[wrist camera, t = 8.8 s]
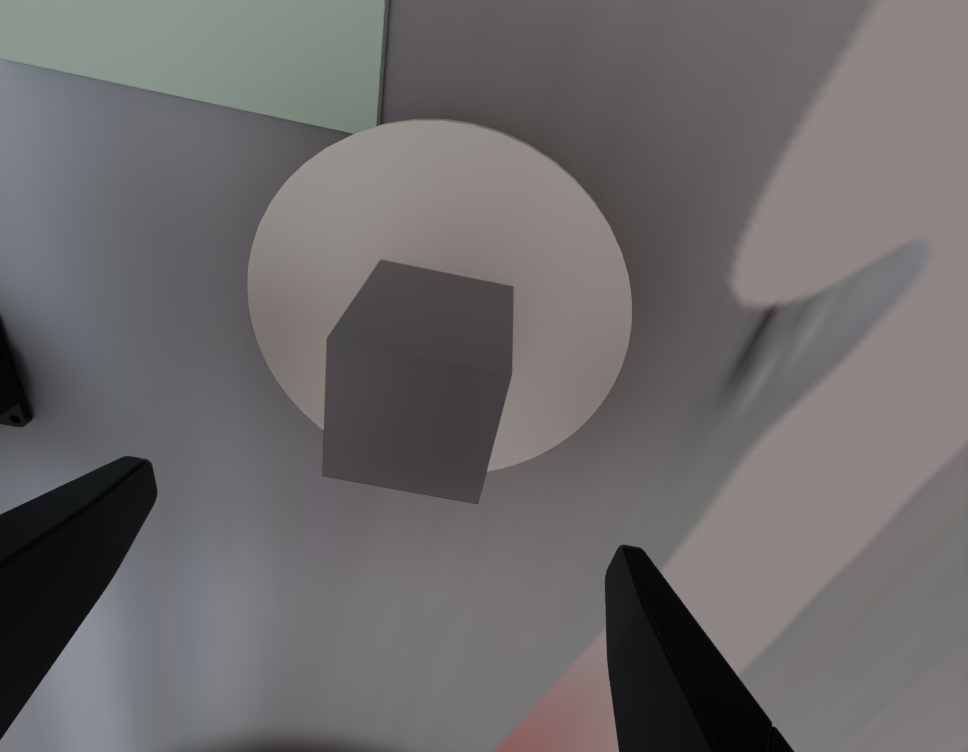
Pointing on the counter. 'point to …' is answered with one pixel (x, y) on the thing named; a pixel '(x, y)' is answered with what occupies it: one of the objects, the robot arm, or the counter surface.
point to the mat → (217, 51)
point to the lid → (438, 303)
